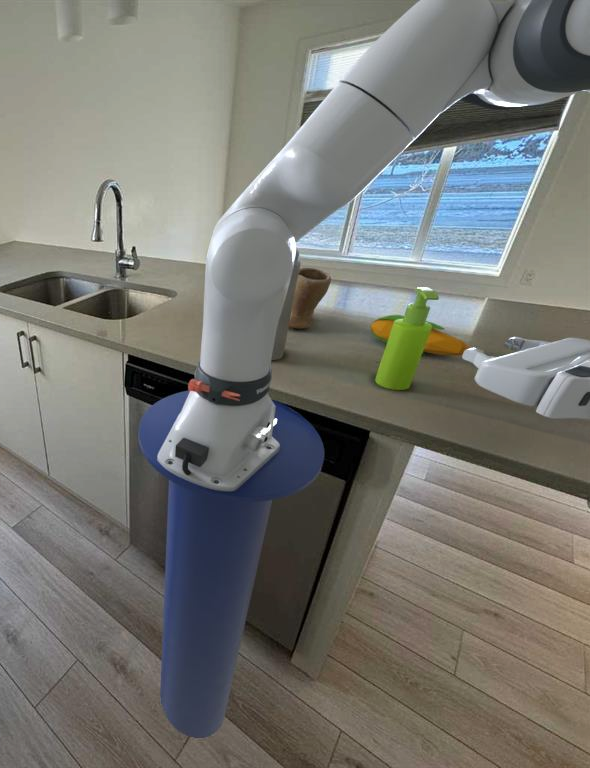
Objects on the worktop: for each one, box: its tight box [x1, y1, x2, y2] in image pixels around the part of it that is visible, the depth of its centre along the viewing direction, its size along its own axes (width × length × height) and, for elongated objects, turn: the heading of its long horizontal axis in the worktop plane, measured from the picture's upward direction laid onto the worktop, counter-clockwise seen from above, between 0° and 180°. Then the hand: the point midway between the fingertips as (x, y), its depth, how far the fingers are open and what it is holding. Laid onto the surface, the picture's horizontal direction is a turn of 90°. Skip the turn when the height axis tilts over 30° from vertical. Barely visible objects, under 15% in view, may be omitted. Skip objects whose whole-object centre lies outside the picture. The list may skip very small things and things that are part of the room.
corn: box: [370, 314, 471, 357], centre depth 93 cm, size 7×8×20 cm
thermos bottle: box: [271, 243, 301, 361], centre depth 93 cm, size 8×8×28 cm
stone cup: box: [288, 267, 332, 330], centre depth 111 cm, size 15×12×15 cm
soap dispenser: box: [374, 287, 440, 391], centre depth 78 cm, size 6×7×20 cm
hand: (487, 346), depth 66 cm, fingers open, 8 cm apart
